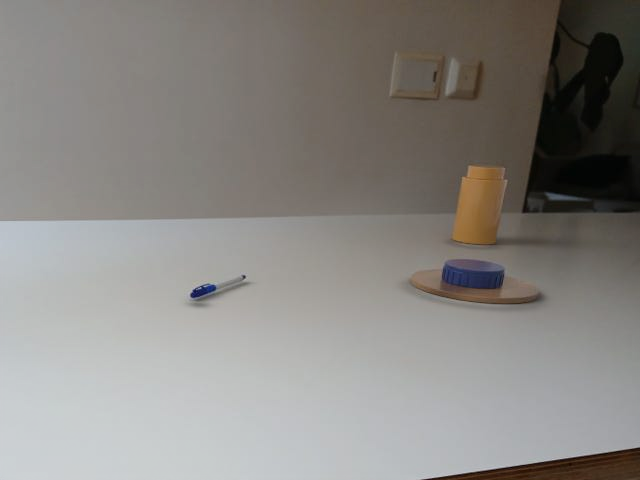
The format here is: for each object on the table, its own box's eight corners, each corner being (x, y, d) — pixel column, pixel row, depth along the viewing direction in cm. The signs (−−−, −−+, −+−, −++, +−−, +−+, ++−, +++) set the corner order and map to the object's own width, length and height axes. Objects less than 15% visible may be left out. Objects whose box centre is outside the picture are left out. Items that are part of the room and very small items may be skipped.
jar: (500, 241, 109) (515, 167, 105) (487, 246, 105) (502, 169, 101) (460, 235, 113) (472, 163, 109) (445, 240, 108) (457, 165, 105)
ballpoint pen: (196, 300, 72) (196, 290, 71) (188, 298, 72) (189, 288, 72) (246, 280, 80) (247, 271, 79) (239, 279, 80) (239, 270, 80)
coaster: (552, 288, 82) (553, 283, 82) (517, 311, 72) (518, 305, 72) (436, 268, 90) (437, 263, 89) (391, 286, 80) (392, 281, 80)
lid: (432, 281, 80) (435, 264, 80) (453, 272, 85) (455, 256, 84) (491, 292, 77) (495, 274, 76) (509, 282, 81) (513, 265, 81)
